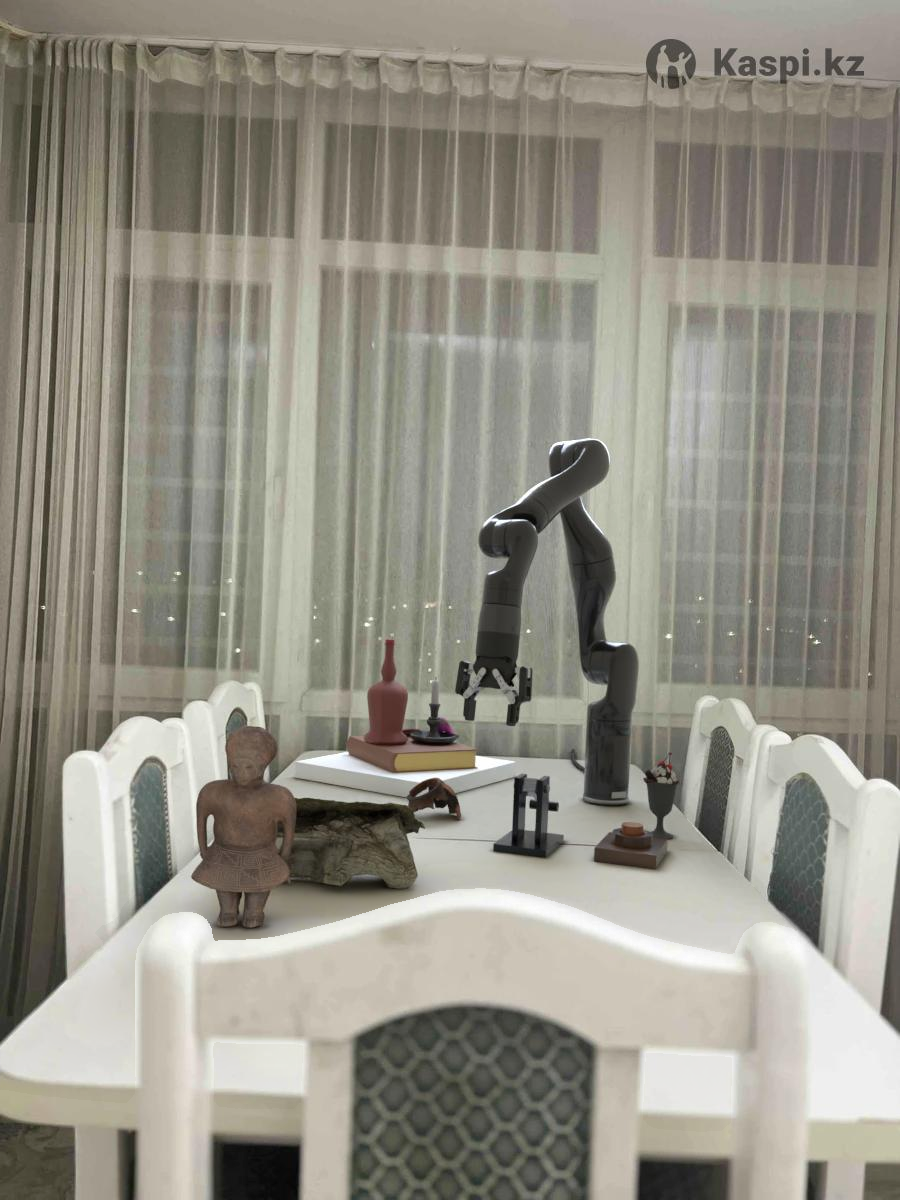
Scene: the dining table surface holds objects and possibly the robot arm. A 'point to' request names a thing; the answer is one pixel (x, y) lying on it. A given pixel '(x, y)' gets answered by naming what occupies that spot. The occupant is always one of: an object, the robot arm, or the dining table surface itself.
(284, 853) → the clay figurine
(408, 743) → the decorative still life
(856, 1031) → the dining table surface
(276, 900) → the dining table surface
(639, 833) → the button
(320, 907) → the dining table surface
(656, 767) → the sundae
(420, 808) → the brown broken pot shard
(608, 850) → the button block
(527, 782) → the lever
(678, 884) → the dining table surface
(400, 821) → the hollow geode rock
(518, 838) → the bracket
